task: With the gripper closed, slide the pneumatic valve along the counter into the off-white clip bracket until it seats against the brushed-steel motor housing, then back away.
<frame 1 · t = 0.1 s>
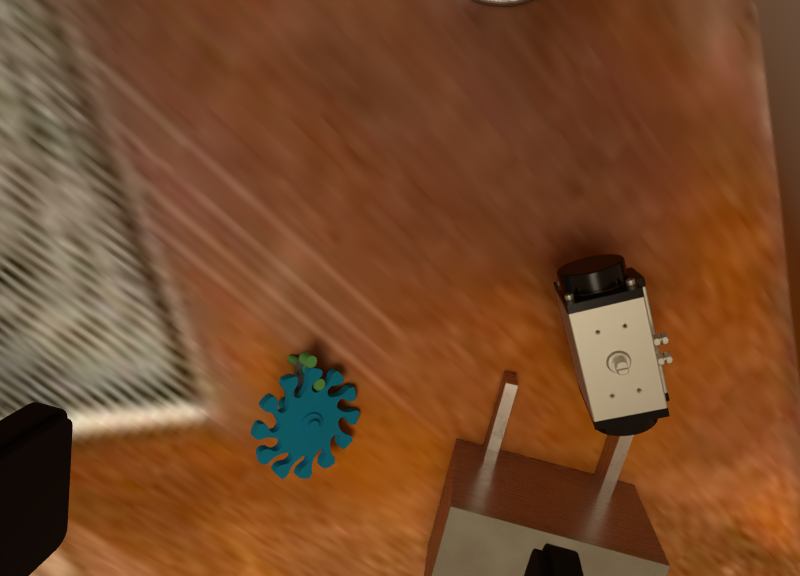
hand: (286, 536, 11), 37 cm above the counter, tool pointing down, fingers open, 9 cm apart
pneumatic valve: (591, 309, 46), on the counter
motor: (526, 517, 51), on the counter
gear: (320, 396, 51), on the counter
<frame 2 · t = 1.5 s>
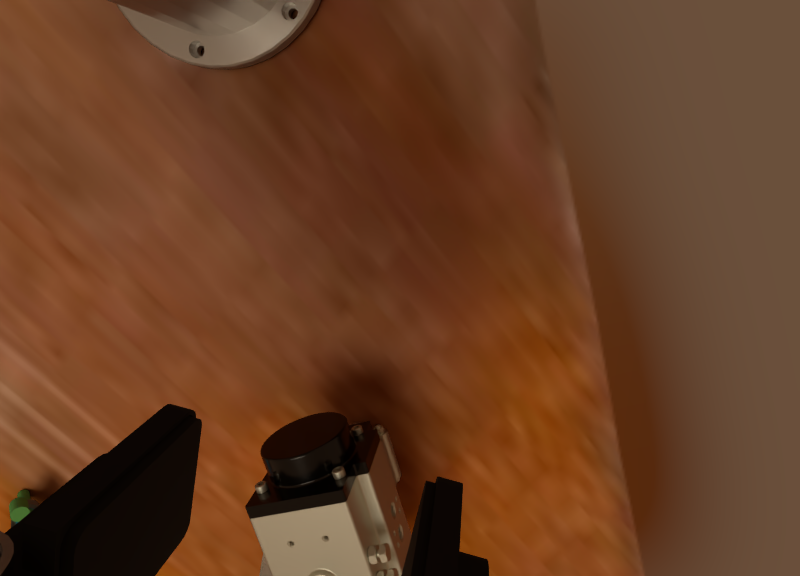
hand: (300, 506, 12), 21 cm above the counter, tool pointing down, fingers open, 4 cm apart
pneumatic valve: (376, 451, 36), on the counter
gear: (66, 538, 41), on the counter
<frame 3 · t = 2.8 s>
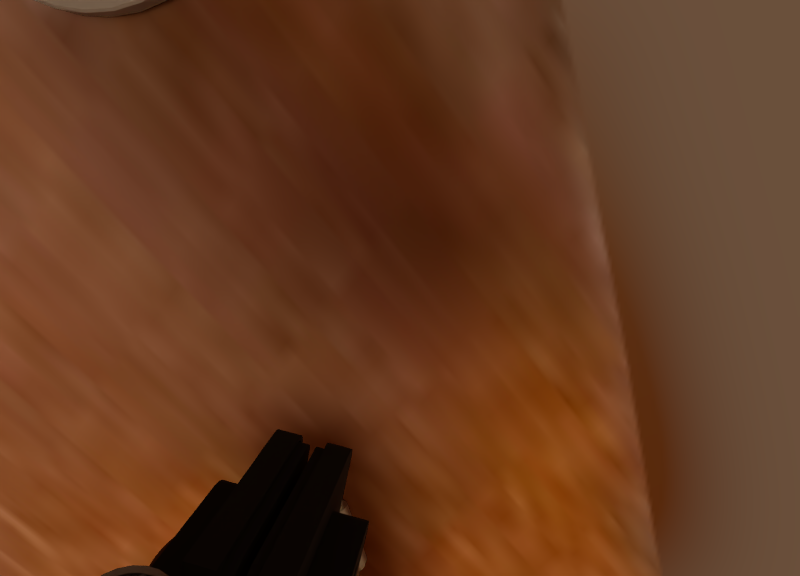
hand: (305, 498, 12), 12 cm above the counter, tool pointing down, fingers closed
pneumatic valve: (335, 527, 27), on the counter
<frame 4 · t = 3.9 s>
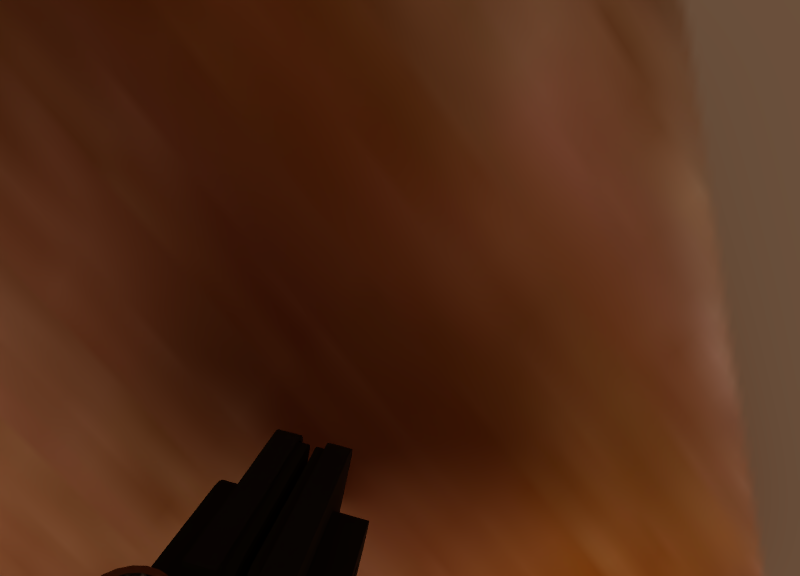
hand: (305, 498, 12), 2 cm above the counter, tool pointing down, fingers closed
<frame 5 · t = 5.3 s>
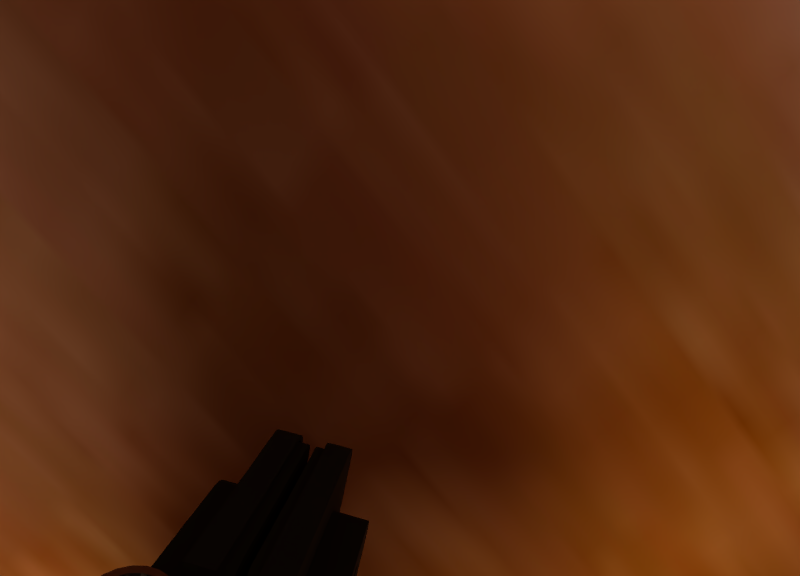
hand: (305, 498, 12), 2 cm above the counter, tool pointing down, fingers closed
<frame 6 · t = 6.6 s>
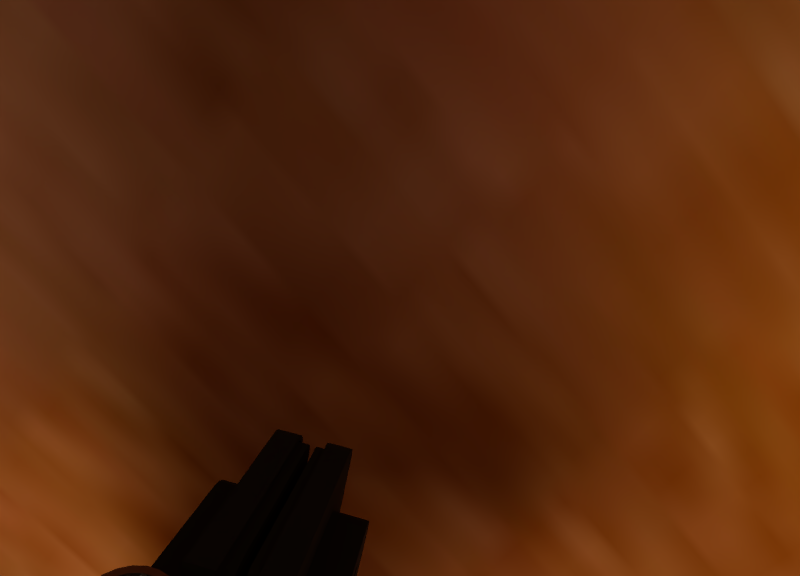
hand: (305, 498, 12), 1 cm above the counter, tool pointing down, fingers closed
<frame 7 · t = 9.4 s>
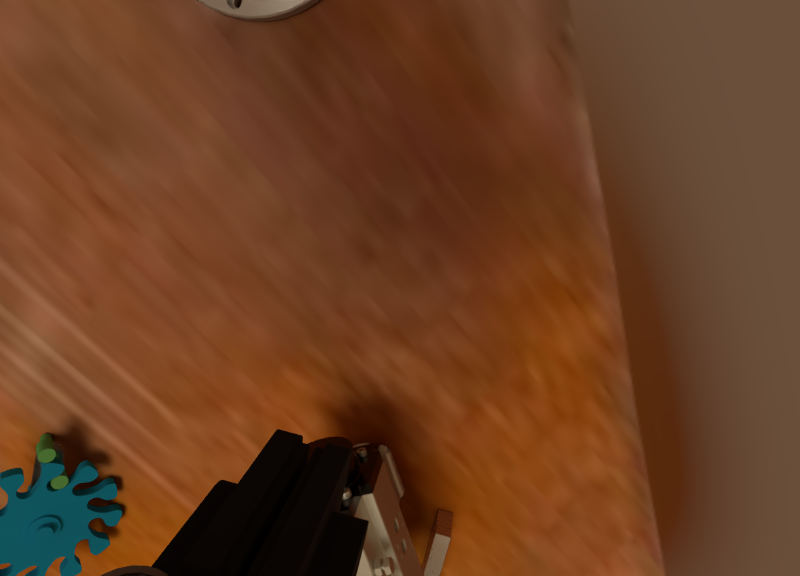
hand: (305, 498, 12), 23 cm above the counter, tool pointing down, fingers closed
pneumatic valve: (381, 468, 38), on the counter
gear: (82, 484, 42), on the counter
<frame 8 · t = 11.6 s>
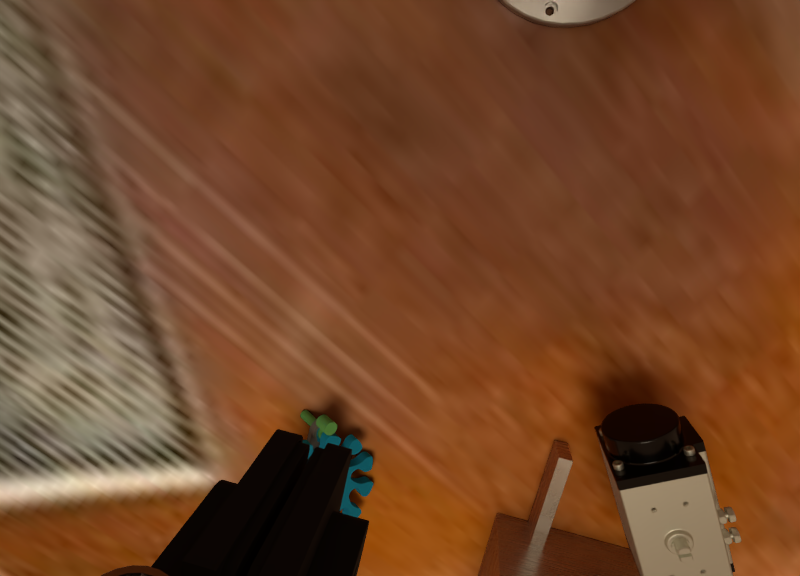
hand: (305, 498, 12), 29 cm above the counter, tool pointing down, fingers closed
pneumatic valve: (633, 438, 41), on the counter
gear: (331, 458, 46), on the counter
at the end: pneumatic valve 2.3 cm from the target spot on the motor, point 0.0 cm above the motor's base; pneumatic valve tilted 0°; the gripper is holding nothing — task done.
